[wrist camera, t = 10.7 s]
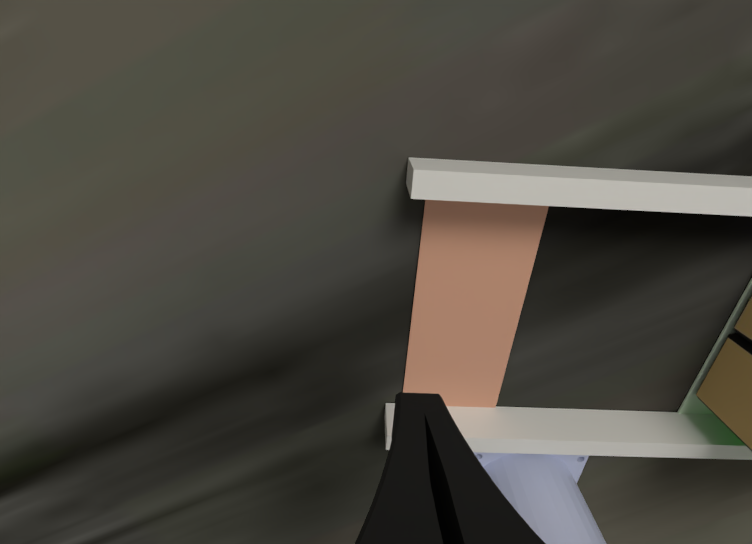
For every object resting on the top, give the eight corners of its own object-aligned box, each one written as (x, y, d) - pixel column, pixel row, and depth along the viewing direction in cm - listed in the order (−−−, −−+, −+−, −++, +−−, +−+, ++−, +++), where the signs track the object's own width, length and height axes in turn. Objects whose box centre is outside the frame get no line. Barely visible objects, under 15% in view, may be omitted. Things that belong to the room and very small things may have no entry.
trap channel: (844, 430, 27) (887, 463, 24) (384, 416, 25) (385, 449, 23) (1045, 192, 19) (1134, 209, 17) (408, 157, 18) (413, 169, 16)
